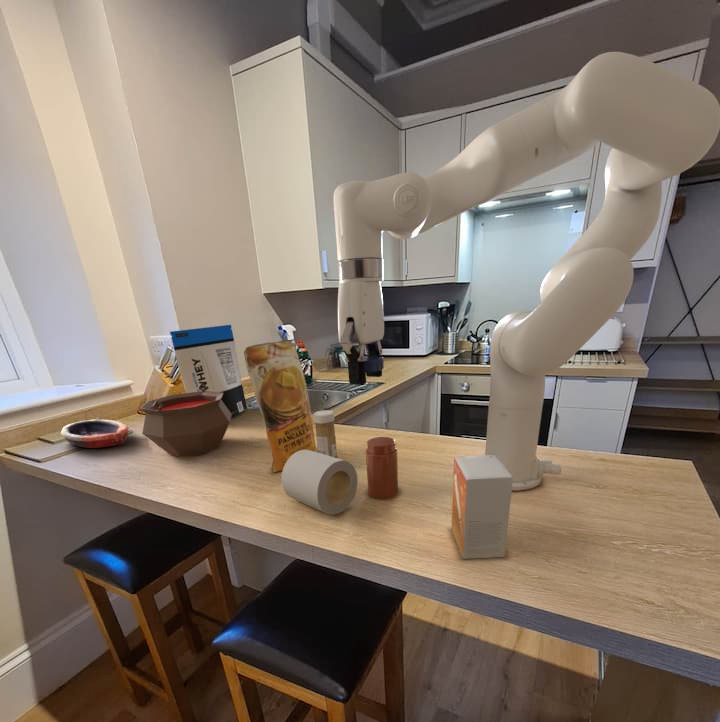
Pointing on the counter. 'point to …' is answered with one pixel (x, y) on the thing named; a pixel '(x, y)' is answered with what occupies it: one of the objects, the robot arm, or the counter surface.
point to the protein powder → (210, 364)
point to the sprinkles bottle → (325, 432)
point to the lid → (373, 363)
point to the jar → (382, 468)
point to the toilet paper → (319, 481)
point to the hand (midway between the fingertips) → (366, 379)
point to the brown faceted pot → (187, 422)
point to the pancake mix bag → (281, 398)
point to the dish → (95, 433)
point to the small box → (481, 506)
